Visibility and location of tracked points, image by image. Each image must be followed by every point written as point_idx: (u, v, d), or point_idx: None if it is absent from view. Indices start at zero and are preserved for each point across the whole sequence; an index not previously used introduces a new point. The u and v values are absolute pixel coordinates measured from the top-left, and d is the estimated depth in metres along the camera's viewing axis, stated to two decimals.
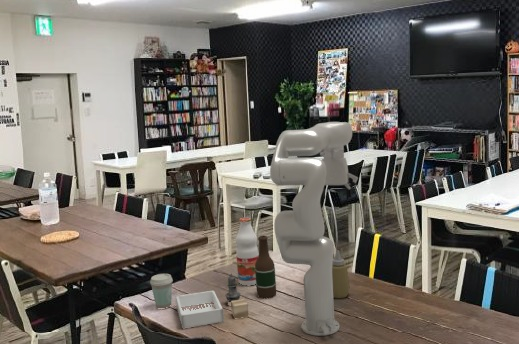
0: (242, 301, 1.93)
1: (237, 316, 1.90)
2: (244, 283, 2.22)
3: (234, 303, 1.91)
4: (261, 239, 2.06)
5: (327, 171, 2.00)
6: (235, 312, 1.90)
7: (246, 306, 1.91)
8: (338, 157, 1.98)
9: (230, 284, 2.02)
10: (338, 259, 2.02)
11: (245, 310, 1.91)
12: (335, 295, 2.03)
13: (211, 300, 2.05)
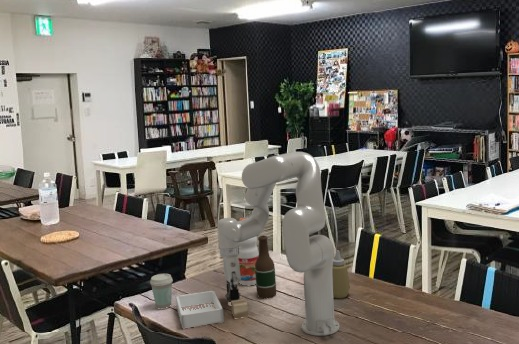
0: (242, 301, 1.93)
1: (237, 316, 1.90)
2: (244, 283, 2.22)
3: (234, 303, 1.91)
4: (261, 239, 2.06)
5: None
6: (235, 312, 1.90)
7: (246, 306, 1.91)
8: None
9: None
10: (338, 259, 2.02)
11: (245, 310, 1.91)
12: (335, 295, 2.03)
13: (211, 300, 2.05)
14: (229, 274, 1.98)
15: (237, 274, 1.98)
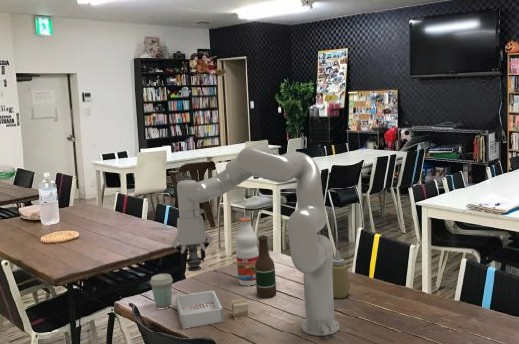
0: (242, 301, 1.93)
1: (237, 316, 1.90)
2: (244, 283, 2.22)
3: (234, 303, 1.91)
4: (261, 239, 2.06)
5: None
6: (235, 312, 1.90)
7: (246, 306, 1.91)
8: None
9: (195, 247, 1.96)
10: (338, 259, 2.02)
11: (245, 310, 1.91)
12: (335, 295, 2.03)
13: (211, 300, 2.05)
14: (205, 233, 1.96)
15: None
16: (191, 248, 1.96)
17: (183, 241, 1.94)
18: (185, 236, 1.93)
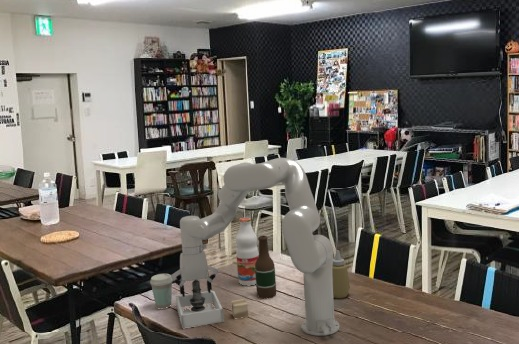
0: (242, 301, 1.93)
1: (237, 316, 1.90)
2: (244, 283, 2.22)
3: (234, 303, 1.91)
4: (261, 239, 2.06)
5: None
6: (235, 312, 1.90)
7: (246, 306, 1.91)
8: None
9: (199, 288, 1.99)
10: (338, 259, 2.02)
11: (245, 310, 1.91)
12: (335, 295, 2.03)
13: (211, 300, 2.05)
14: (207, 268, 1.98)
15: None
16: (195, 289, 1.98)
17: (186, 277, 1.96)
18: (188, 272, 1.95)
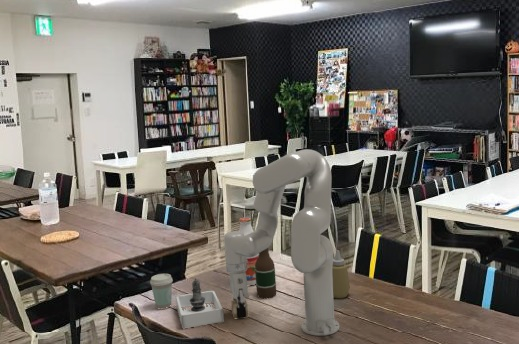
0: None
1: None
2: None
3: (234, 303, 1.91)
4: None
5: None
6: (235, 312, 1.90)
7: (246, 306, 1.91)
8: None
9: (199, 288, 1.99)
10: (338, 259, 2.02)
11: None
12: (335, 295, 2.03)
13: (211, 300, 2.05)
14: (236, 291, 1.87)
15: (244, 291, 1.87)
16: (195, 289, 1.98)
17: None
18: (230, 285, 1.93)
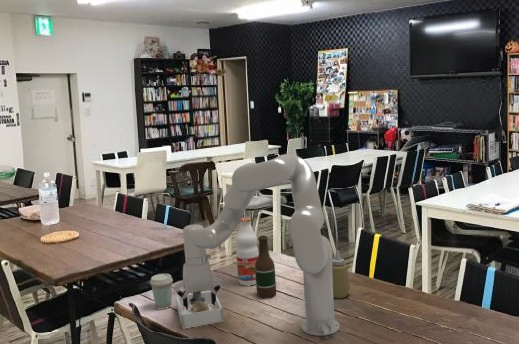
0: (198, 304, 1.92)
1: None
2: (244, 283, 2.22)
3: (203, 306, 1.89)
4: (261, 239, 2.06)
5: None
6: None
7: None
8: None
9: None
10: (338, 259, 2.02)
11: None
12: (335, 295, 2.03)
13: (211, 300, 2.05)
14: (212, 279, 1.89)
15: None
16: None
17: (189, 288, 1.87)
18: (191, 283, 1.86)
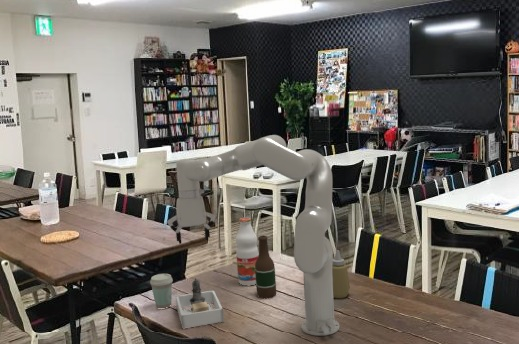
0: (198, 304, 1.92)
1: None
2: (244, 283, 2.22)
3: (203, 306, 1.89)
4: (261, 239, 2.06)
5: None
6: None
7: None
8: None
9: (199, 288, 1.99)
10: (338, 259, 2.02)
11: None
12: (335, 295, 2.03)
13: (211, 300, 2.05)
14: (205, 214, 1.89)
15: None
16: (195, 289, 1.98)
17: (183, 222, 1.87)
18: (185, 217, 1.87)
